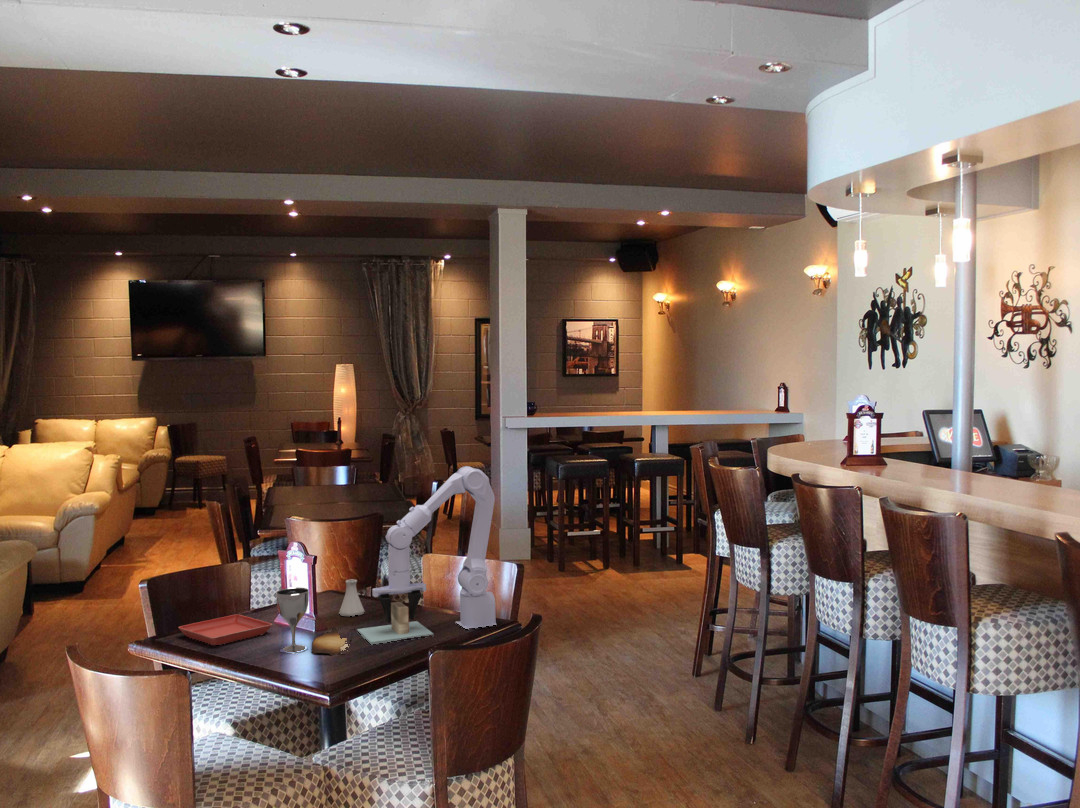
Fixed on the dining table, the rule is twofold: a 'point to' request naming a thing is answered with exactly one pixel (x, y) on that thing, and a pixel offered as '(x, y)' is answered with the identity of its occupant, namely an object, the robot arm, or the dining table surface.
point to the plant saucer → (225, 629)
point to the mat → (392, 633)
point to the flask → (351, 600)
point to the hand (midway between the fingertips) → (400, 620)
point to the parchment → (329, 643)
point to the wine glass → (292, 610)
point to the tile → (400, 618)
